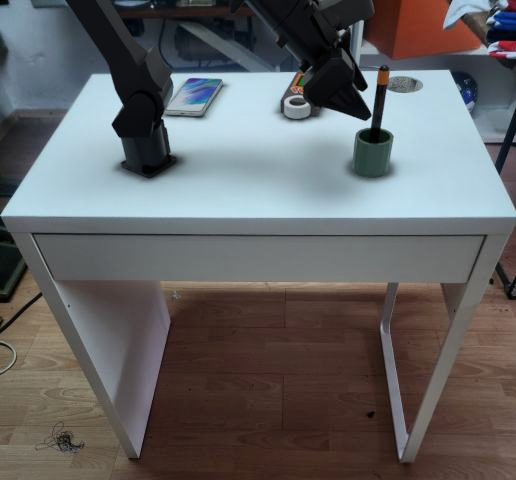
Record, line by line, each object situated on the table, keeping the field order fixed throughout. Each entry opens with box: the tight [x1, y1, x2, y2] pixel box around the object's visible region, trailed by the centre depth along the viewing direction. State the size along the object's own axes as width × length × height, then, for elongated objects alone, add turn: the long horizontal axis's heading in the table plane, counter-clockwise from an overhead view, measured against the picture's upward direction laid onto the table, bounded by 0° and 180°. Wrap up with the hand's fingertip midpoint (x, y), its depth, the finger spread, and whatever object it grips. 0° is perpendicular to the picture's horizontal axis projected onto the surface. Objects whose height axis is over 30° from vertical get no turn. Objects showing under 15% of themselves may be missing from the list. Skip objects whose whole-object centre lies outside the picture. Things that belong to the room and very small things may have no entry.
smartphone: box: [164, 77, 224, 117], centre depth 94 cm, size 7×1×15 cm
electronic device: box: [280, 69, 321, 120], centre depth 91 cm, size 7×3×15 cm
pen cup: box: [351, 127, 395, 178], centre depth 74 cm, size 5×5×5 cm
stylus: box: [369, 64, 391, 144], centre depth 71 cm, size 2×2×14 cm
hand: (367, 103), depth 69 cm, fingers open, 9 cm apart
